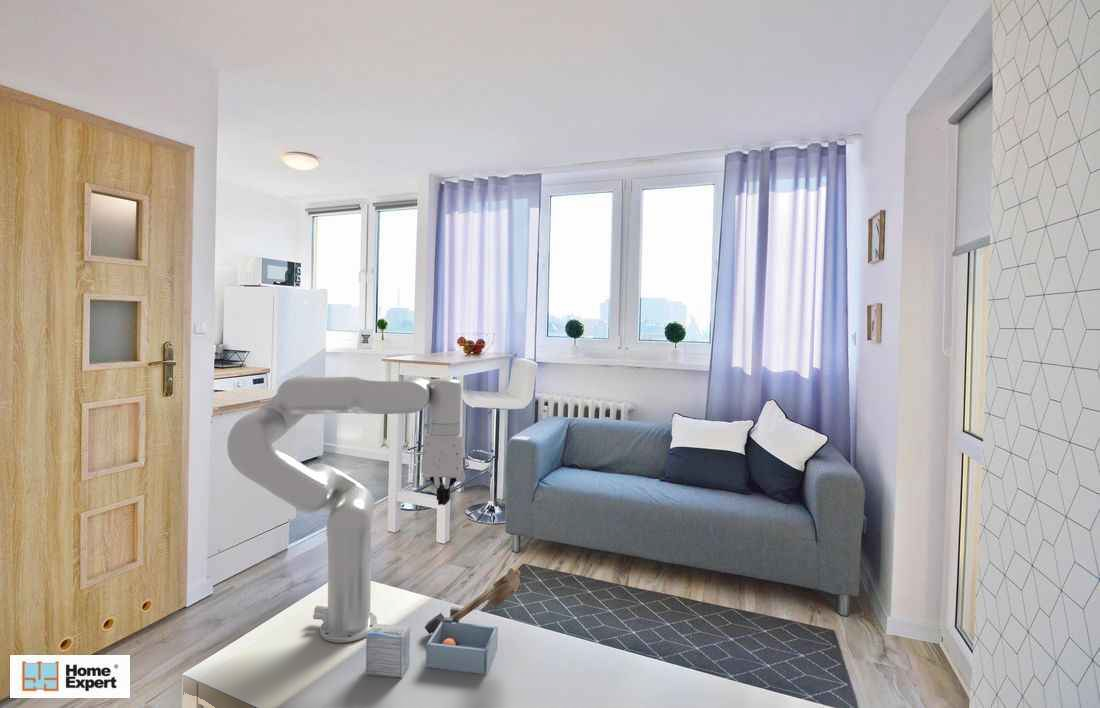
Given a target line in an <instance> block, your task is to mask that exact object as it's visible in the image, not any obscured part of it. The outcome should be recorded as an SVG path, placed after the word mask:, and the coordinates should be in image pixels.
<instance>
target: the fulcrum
mask: <svg viewBox="0 0 1100 708" xmlns="http://www.w3.org/2000/svg"><path fill="white" fill-rule="evenodd" d="M460 609H461V608H460V607H453V606H452V607H450V609H449V611H450V612H449V617H451V616H452V615H453V614H455V613H456V612H458V611H459V610H460ZM449 617H447V616H446V617H445V616H444V622H446V623H452V622H453V618H449ZM456 623H460V620H458V621H457V622H456ZM442 643H443V641H442ZM455 643H456V645H459V644H460V643H458V642H455Z"/></svg>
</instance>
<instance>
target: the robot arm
mask: <svg viewBox="0 0 1100 708" xmlns="http://www.w3.org/2000/svg"><path fill="white" fill-rule="evenodd" d="M461 404H462V384H461V382H460V381H459V379H455V378H435V379H430V378H424V377H415V376H414V377H408V378H406V379H404V380H395V381H394V380H393V381H390V380H386V381H385V380H383V381H382V380H379V381H378V380H369V379H368V380H367V379H363V378H360V377H356V376H355V377H354V376H333V377H332V376H328V377H326V376H324V377H322V376H321V377H315V376H310V375H304V374H303V375H298V376H294V377H292V378H288V379H286V380H285V381H283V382H282V383H281V385H279V387H278V389H277V392H276V394H275V395H274V396H273V397H271V398H270V399H269V400H268V401H267V402H265V403H264V404H263V405H262V406H261V407H260V408H258V409H257V410H255V411H253V412H251V413H248V414H247V415H244V416H243V417H241V418H240V419H238V420H237V421H236V422H235V424H233V426H232V428H231V429H230V431H229V433H228V437H227V444H226V446H227V447H226V449H227V455H228V458H229V461H230V462H231V464H232V466H233V467H234V468H235V469H236V470H237V472H238V473H240V474H241V475H242V476H244V477H246V478H247V479H248V480H250V481H252V482H254V483H256V484H257V485H259V486H261V487H262V488H264V489H265V490H267V491H268V492H270V493H271V494H273V495H274V496H277V498H279V499H281V500H283V501H284V502H285V503H288V504H289V505H290V506H292V507H294V508H295V509H297V510H298V511H301V512H303V513H308V514H314V513H317V512H320V511H321V510H322V509H325V510H327V511H328V512H329V513H328V516H327V521H326V540H327V574H328V575H327V606H323V605H316V606H315V608H314V610H313V613H314V614H313V615H312V616H313V617H312V618H313V620H320V621H322V623H321V625H320V630H319V631H320V632H319V633H320V634H319V635H320V636H321V638H322V639H323V640H325V641H327V642H330V643H337V644H338V643H340V644H344V643H351V642H354V641H355V642H356V641H359V640H361V639H364V638H366V635H367V634H368V632H369V631H370V630H371V629H372V627H373V626H374V625H375V624H378V618H377V616H376V614H374V613H372V612H371V598H372V597H371V594H372V592H371V588H372V587H371V585H372V584H371V582H372V581H371V580H372V574H371V573H372V536H371V535H372V533H371V532H372V519H373V515H374V510H375V499H374V498H375V497H374V495H373V494H372V492H371V491H370V490H369V489H368V488H366V487H365V486H364V485H362V484H361V483H360V482H357V481H356V480H354V479H353V478H351V477H350V476H348V475H347V474H345V473H343V472H342V471H340V470H338V469H337V468H336V467H333V466H331V465H329V464H326V463H319V462H318V463H312V464H310V465H305V464H303V463H302V462H300V461H298V460H297V459H295V458H294V457H292V456H290V455H289V454H287V453H285V452H283V451H280V450H278V449H277V448H275V447H274V445H273V444H274V443H275V442H276V441H278V440H279V439H281V438H282V437H284V436H285V434H286V433H288V431H290V430H291V429H292V428H293V427H294V426H296V424H298V423H299V422H300V421H301V420H302V419H303V418H304V417H306V415H321V414H324V415H325V414H326V415H327V414H359V415H360V414H368V415H369V414H370V415H393V414H394V415H395V414H396V415H397V414H398V415H399V414H414V413H418V412H421V411H422V410H423V409H425V408H426V407H428V408H429V409H428V410H429V412H428V413H429V417H428V422H427V423H424V424H423V429H425V430H427V431H428V432H427V433H426V434H425V436H424V440H423V445H422V446H423V447H422V452H421V462H420V464H421V465H420V473H421V474H422V475H421V476H422V479H424V480H427V481H430V482H431V483H432V485H434V488H435V489H436V501H437V505H438V506H441V505H442V506H446V505H447V504H448V502H449V501H450V500H451V491H452V490H451V489H452V488H451V487H452V486H453V485H454V484H455V483H459V482H464V480H466V473H465V472H466V464H467V463H466V461H467V460H466V449H465V448H466V447H465V440H464V435H463V434H461V414H462V413H461V409H462V408H461ZM444 478H445V480H444Z"/></svg>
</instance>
